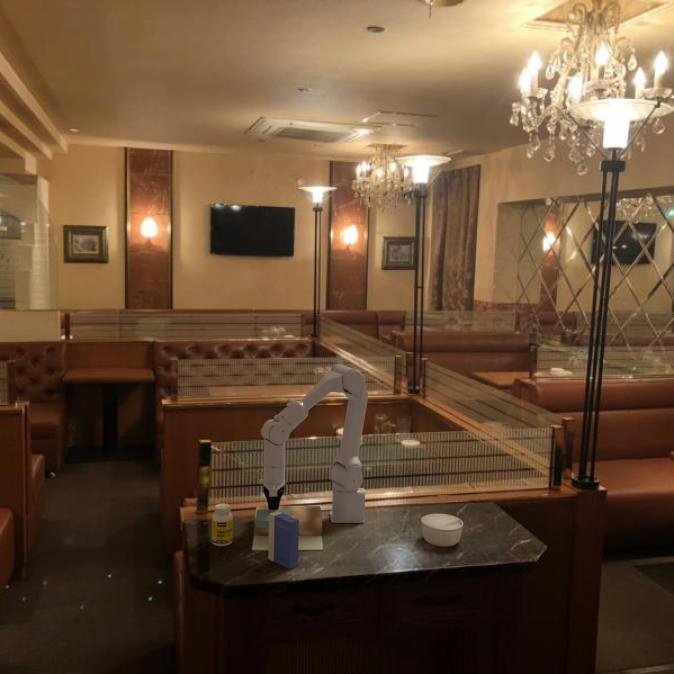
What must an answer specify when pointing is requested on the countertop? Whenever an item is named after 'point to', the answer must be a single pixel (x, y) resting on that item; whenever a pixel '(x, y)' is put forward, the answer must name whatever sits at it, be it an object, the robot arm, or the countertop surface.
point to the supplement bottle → (222, 525)
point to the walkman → (283, 539)
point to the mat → (304, 545)
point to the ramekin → (441, 529)
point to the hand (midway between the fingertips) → (273, 513)
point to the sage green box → (267, 517)
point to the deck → (307, 520)
